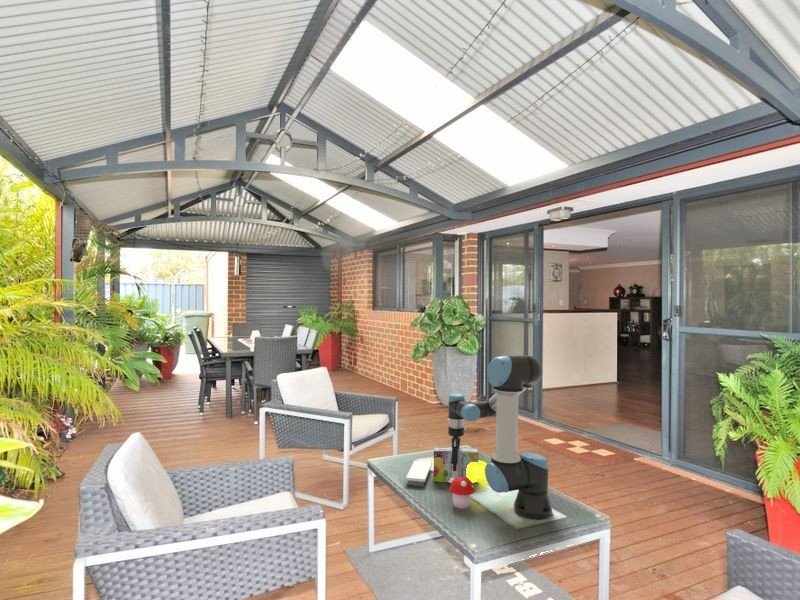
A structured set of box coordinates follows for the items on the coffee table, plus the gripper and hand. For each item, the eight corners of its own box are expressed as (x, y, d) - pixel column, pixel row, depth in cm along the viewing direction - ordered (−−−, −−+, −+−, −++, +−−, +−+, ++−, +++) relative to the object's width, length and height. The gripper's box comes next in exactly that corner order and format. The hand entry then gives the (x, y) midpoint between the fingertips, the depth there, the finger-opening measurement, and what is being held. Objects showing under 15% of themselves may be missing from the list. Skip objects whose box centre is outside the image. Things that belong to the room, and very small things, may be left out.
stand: (424, 487, 223) (425, 479, 223) (405, 486, 224) (405, 477, 224) (431, 469, 246) (431, 461, 246) (414, 468, 248) (414, 460, 248)
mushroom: (450, 499, 211) (450, 471, 211) (475, 501, 209) (475, 473, 209) (447, 509, 200) (448, 480, 200) (474, 512, 198) (475, 482, 198)
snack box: (477, 479, 234) (477, 448, 233) (478, 484, 228) (478, 452, 228) (433, 477, 236) (433, 446, 236) (433, 482, 230) (433, 450, 230)
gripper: (450, 420, 243) (449, 465, 243) (446, 432, 222) (445, 481, 222) (465, 421, 242) (464, 466, 242) (462, 433, 220) (461, 482, 220)
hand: (455, 473), depth 232 cm, fingers open, 9 cm apart
